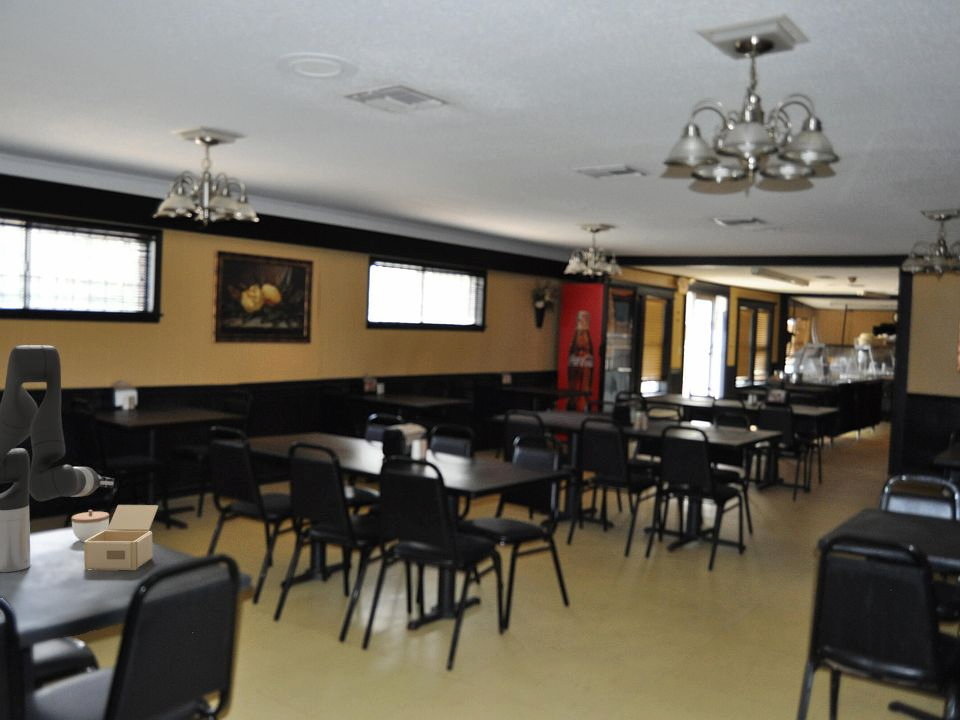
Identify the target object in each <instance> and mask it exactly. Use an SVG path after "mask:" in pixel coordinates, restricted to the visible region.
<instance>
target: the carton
mask: <svg viewBox="0 0 960 720" xmlns="http://www.w3.org/2000/svg"><path fill="white" fill-rule="evenodd" d="M152 559H153V532H152V530H107V531H102V532H100V533H98V534H96V535H94V536H93V537H91V538H89V539H87V540H85V541H84V542H83V561H84V570H85V569H92V570H91V571H118V570H135V571H136V569H137V568H138V569H139V568H140V566H141V567H142V566H144V565H145V564H146V563H148V562H149V561H150V560H152ZM143 564H144V565H143ZM95 569H96V570H95ZM138 569H137V570H138Z"/></svg>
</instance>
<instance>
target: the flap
mask: <svg viewBox="0 0 960 720" xmlns="http://www.w3.org/2000/svg"><path fill="white" fill-rule="evenodd" d="M158 509H159V505H157V504H153V505H151V504H149V505H147V504H118V505H117V506H116V508H115V511H114V513H113V516H112V518H111V520H110V521H109V526H108V530H107V531H150V529H151V527H152V523H153V522H154V519H155V516H156V513H157V512H158Z"/></svg>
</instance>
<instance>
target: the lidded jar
mask: <svg viewBox="0 0 960 720" xmlns="http://www.w3.org/2000/svg"><path fill="white" fill-rule="evenodd" d="M109 524H110V513H109V512H106V511H105V512H104V511H93V510H92V509H88V512H81V513H77V514H73V515H72V516H71V525H72V526H71V527H72V531H73V535H74V536H75V538H76V539H78V540H79V541H80V542H81V541H82V542H81V543H84V541H85V540H87V539H89V538H91V537H93V536H94V535H96V534H98V533H100V532H102V531H109V530H108V527H109Z"/></svg>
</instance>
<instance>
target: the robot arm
mask: <svg viewBox="0 0 960 720" xmlns="http://www.w3.org/2000/svg"><path fill="white" fill-rule="evenodd" d="M8 356H9V357H8V361H7V367H6V376H5V383H4V389H3V394H2V397H1V401H0V484H7V483H8V484H9V483H13V484H12V485H11V487H10V488H8V489H7V490H5V491H3V492H1V493H0V573H12V572H18V571H22V570H25V569H28V568H30V567H31V565H32V564H31V563H32V562H31V532H30V531H31V529H30V527H31V526H30V525H31V524H30V522H31V521H30V496H31V497H32V498H33V499H34V500H35V501H36V502H37V501H38V502H45V501H48V500H52V499H55V498H59V497H70V498H71V497H72V498H74V497H76V498H77V497H86V496H90V495H92V494H93V493H94V492H95V491H96V490H97V489H98V488H108V489H113V488H114V484H115V483H114V482H115V478H113V477H106V476H101V475H100V474H98V473H97V472H96V471H95V470H94V469H93V468H91V467H88V466H72V465H71V464H63V465H58V466H54V467H51V468H50V466H51V465H52V464H54V463H56V462H57V461H58V460H60V459H62V458H63V457H64V456H65V455H66V444H65V437H64V430H63V423H62V367H61V358H60V357H61V356H60V354H59V351H58V349H57V348H56V346H54V345H40V344H38V345H34V344H33V345H31V344H30V345H28V344H27V345H25V344H24V345H23V344H22V345H16V346H15V347H13V348H12V349H11V351H10V352H9V355H8ZM25 383H46V390H45V391H46V392H45V395H44V398H43V399H42V402H41V403H40V405H39V407H38V405H37V402H36V401H35V400H34V398H33V397H32V396H31V395H30V394H29V392H28V391H27V390H26V389H25V387H24V386H23V384H25ZM29 437H30V443H31V444H30V445H31V450H32V457H31V458H32V459H31V461H30V455H29V453H28V450H26V449H25V448H22V447H21V448H20V447H18V448H17V446H19V445H20V444H21V443H23V442H24V441H25V440H27V439H28V438H29ZM30 462H31V463H30Z"/></svg>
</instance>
